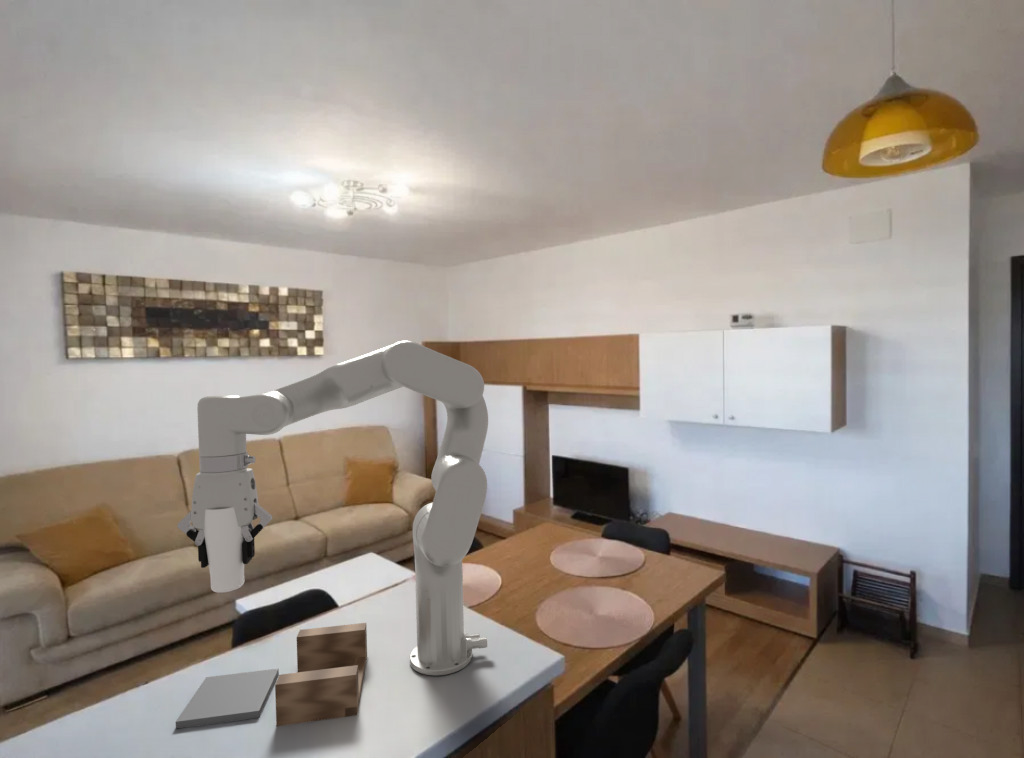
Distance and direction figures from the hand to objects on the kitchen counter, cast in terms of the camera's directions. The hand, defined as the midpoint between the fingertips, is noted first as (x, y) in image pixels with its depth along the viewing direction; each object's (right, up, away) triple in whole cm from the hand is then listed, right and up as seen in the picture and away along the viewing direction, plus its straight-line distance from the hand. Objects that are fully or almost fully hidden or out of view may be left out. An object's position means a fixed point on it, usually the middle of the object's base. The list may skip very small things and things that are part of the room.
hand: (227, 562), depth 94 cm
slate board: (+1, -25, 0) cm, 25 cm away
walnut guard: (+17, -25, +3) cm, 30 cm away
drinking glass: (0, -5, 0) cm, 5 cm away
